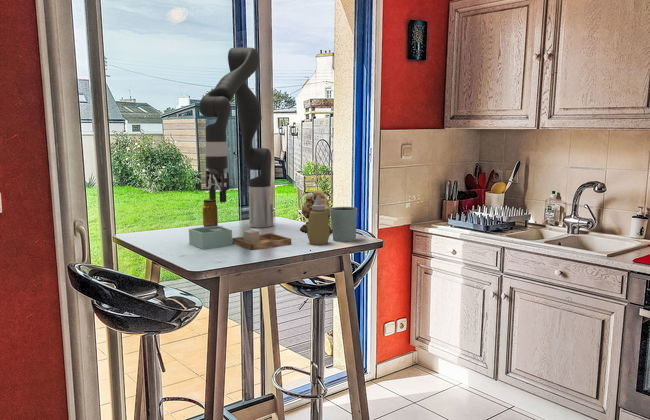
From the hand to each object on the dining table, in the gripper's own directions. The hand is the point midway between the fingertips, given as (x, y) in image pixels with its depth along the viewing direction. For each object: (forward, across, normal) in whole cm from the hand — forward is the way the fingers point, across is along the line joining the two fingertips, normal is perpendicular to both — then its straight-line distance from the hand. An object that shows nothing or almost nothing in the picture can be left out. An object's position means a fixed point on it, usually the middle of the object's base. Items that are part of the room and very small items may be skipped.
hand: (217, 201), depth 193 cm
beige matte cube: (+15, -10, -8) cm, 20 cm away
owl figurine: (+16, +3, -44) cm, 47 cm away
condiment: (+16, +36, -14) cm, 42 cm away
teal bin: (+16, 0, +3) cm, 16 cm away
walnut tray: (+16, -9, -12) cm, 22 cm away
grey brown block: (+15, 0, 0) cm, 15 cm away
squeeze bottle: (+16, -20, -29) cm, 39 cm away
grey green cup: (+16, -18, -42) cm, 49 cm away
